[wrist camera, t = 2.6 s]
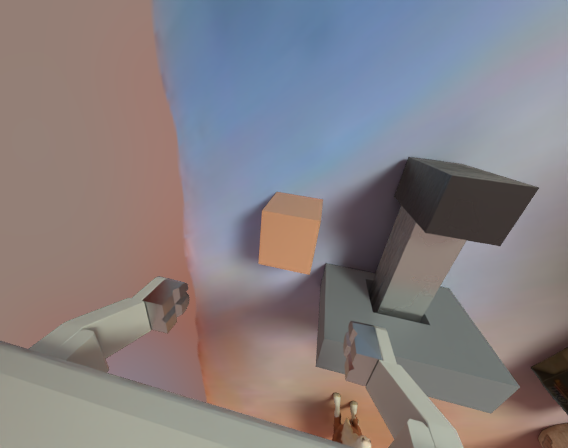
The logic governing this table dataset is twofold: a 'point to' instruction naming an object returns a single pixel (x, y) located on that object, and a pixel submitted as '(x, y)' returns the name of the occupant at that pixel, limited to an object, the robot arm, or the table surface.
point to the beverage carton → (555, 377)
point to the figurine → (554, 436)
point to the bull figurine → (348, 427)
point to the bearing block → (416, 342)
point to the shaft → (440, 229)
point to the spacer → (290, 232)
